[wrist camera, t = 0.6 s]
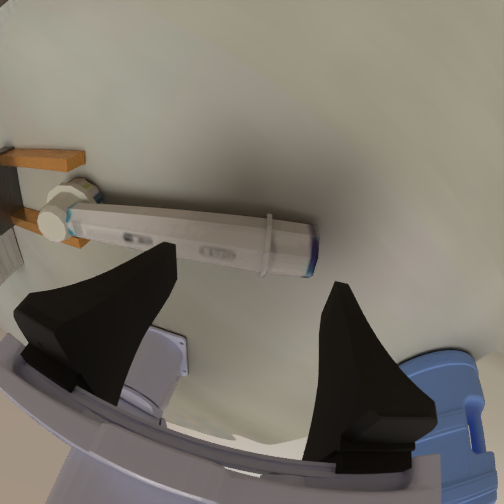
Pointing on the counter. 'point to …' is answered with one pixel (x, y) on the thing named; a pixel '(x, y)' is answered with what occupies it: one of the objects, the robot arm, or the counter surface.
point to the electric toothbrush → (182, 231)
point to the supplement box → (9, 255)
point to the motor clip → (8, 191)
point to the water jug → (455, 426)
